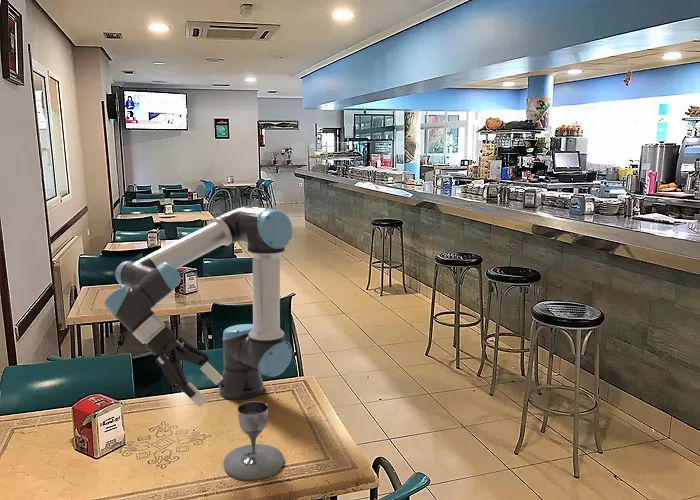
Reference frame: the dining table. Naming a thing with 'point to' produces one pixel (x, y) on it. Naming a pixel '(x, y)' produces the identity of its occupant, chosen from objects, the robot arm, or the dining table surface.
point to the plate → (253, 472)
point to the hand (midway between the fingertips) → (212, 392)
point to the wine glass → (253, 428)
